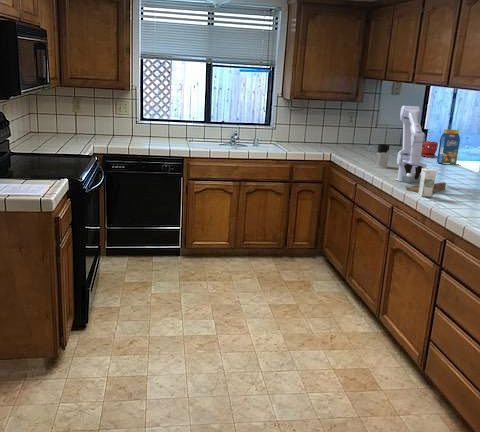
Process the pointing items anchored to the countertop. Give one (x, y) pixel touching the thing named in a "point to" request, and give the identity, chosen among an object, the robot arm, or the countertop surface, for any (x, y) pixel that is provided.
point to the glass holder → (381, 155)
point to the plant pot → (429, 149)
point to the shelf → (436, 188)
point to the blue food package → (449, 147)
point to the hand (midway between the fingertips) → (412, 178)
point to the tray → (410, 178)
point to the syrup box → (427, 182)
